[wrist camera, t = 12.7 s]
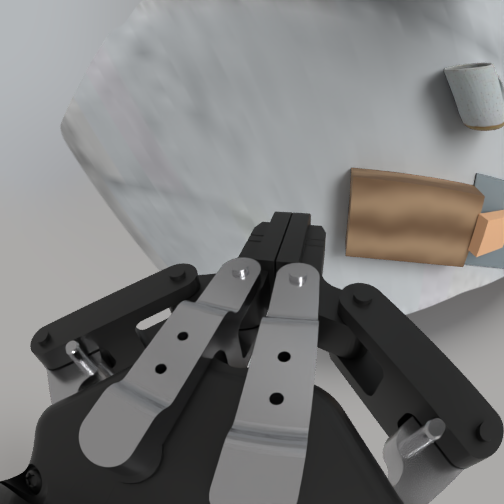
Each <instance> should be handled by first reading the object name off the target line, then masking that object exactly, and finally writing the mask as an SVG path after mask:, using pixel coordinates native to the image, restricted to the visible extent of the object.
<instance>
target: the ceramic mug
mask: <svg viewBox="0 0 504 504" xmlns="http://www.w3.org/2000/svg"><path fill="white" fill-rule="evenodd" d="M444 73H445V75H446V78H447V80H448V83H449V85H450V88H451V91H452V93H453V96H454V99H455V102H456V105H457V108H458V111H459V114H460V117H461V119H462V121H463V123H464V124H465V125H466V126H467V127H469V128H470V129H474V130H480V131H489V130H496V129H499V128H501V127H503V126H504V87H503V84H502V81H501V79H500V77H499V76H498V74H497V73H496V70H495V67H494V65H493V64H492V63H472V64H463V65H456V66H451V67H448V68H445V69H444Z"/></svg>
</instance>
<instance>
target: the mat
mask: <svg viewBox="0 0 504 504" xmlns="http://www.w3.org/2000/svg"><path fill="white" fill-rule="evenodd" d="M474 186H475V187H476V188H477V189H478V190H479V191H480V192H481V193H482V194H483V195H484V196H485V198H484V203H483V207H482V210H481V213H487V212H493V211H499V210H504V180H501V179H497V178H494V177H490V176H486V175H482V174H478V173H476V178H475V183H474ZM465 265H475V266H485V267H495V268H504V245H503V247H502V248H500V249H497V250H495V251H492V252H489V253H487V254H484V255H481V256H478V257H475V256H474V255H473V254H472V253H471V252H470V251H469V253H468V255H467V258H466V261H465Z"/></svg>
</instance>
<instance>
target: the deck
mask: <svg viewBox="0 0 504 504" xmlns="http://www.w3.org/2000/svg"><path fill="white" fill-rule="evenodd" d="M484 198H485V196H484V195H483V194H482V193H481V192H480V191H479V190H478V189H477V188H476V187H475V186H474V185H469V184H464V183H459V182H454V181H449V180H443V179H437V178H432V177H425V176H419V175H412V174H405V173H397V172H389V171H380V170H370V169H360V168H351V183H350V199H349V212H348V223H347V233H346V256H351V257H362V258H373V259H384V260H395V261H405V262H416V263H427V264H437V265H447V266H458V267H463V266H464V264H465V261H466V258H467V255H468V253H469V250H468V248H469V245H470V242H471V239H472V236H473V233H474V230H475V226H476V223H477V219H478V216H479V214H481V210H482V207H483V203H484Z"/></svg>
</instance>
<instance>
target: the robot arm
mask: <svg viewBox="0 0 504 504" xmlns="http://www.w3.org/2000/svg"><path fill="white" fill-rule="evenodd" d="M325 238H326V232H325V231H324V229H323V228H322V226H315V225H311V215H310V214H307V213H291V212H275V213H274V215H273V217H272V219H271V221H270V222H262V223H260V224H259V225H258V226H256V227H255V228H254V230H253V231H252V233H251V236H250V237H249V239H248V241H247V242H246V244H245V246H244V248H243V249H242V251H241V253H240V255H239V257H238V258H235V259H232V260H229V261H227V262H226V263H225V264H223V265H222V267H221V268H220V269H219V271H218V272H217V273H216V274H208V275H198V273H197V270H196V268H195V267H194V266H192V265H190V264H176V265H173V266H171V267H168V268H166V269H164V270H162V271H160V272H158V273H155V274H153V275H151V276H149V277H147V278H144V279H142V280H140V281H138V282H136V283H134V284H132V285H129V286H127V287H125V288H123V289H121V290H119V291H117V292H114V293H112V294H110V295H108V296H106V297H104V298H102V299H100V300H98V301H96V302H93V303H91V304H89V305H88V306H85V307H83V308H81V309H79V310H77V311H75V312H73V313H71V314H69V315H67V316H65V317H63V318H60V319H58V320H57V321H54V322H52V323H50V324H48V325H46V326H44V327H42V328H41V329H40V330H39V331H37V333H36V334H35V335H34V337H33V338H32V341H31V351H32V352H33V353H34V354H35V355H36V357H37V358H38V359H39V360H40V361H41V362H42V363H43V365H44V367H45V368H46V369H47V374H48V382H49V390H50V397H51V402H52V405H51V406H50V407H48V408H47V409H46V410H45V411H44V412H43V414H42V415H41V417H40V418H39V420H38V423H37V426H36V431H35V440H34V447H33V452H32V456H31V460H30V464H29V465H28V467H27V469H26V470H25V471H24V472H23V473H21V474H20V475H18V476H15V477H13V478H10V479H8V480H4V481H0V504H428V503H429V502H430V501H432V500H433V499H434V498H435V497H436V496H437V495H438V494H439V493H440V492H442V491H443V490H444V489H445V488H446V487H447V486H448V485H449V484H450V483H451V482H452V481H453V480H454V479H455V478H456V477H457V476H458V475H459V474H460V473H461V472H462V471H463V470H464V469H466V468H468V467H470V466H472V465H474V464H476V463H478V462H480V461H482V460H484V459H486V458H488V457H489V456H491V455H492V454H494V453H495V452H496V451H497V449H498V448H499V446H500V444H501V442H502V438H503V423H502V420H501V418H500V416H499V415H498V414H497V412H496V411H495V410H494V409H493V408H492V407H491V405H490V404H489V403H488V402H487V401H486V399H484V397H483V396H482V395H481V394H480V393H479V391H478V390H477V389H476V388H475V387H474V386H473V385H472V384H471V382H470V381H469V380H468V379H467V378H466V377H465V376H464V375H463V374H462V373H461V372H460V370H459V369H458V368H457V367H456V366H455V365H454V364H453V363H452V362H451V361H450V360H449V359H448V358H447V357H446V355H445V354H444V353H442V351H441V350H440V349H439V348H438V347H437V346H436V345H435V344H434V343H433V342H432V341H431V340H430V339H429V338H428V337H427V336H426V335H425V334H424V333H423V332H422V331H421V330H420V329H419V328H418V327H417V326H416V325H415V324H414V323H413V322H412V321H411V320H410V319H409V318H408V317H406V315H405V314H404V313H402V312H401V311H400V310H399V309H398V308H397V307H396V306H395V305H394V304H393V303H392V302H391V301H390V300H389V299H388V298H387V297H386V296H384V295H383V294H382V293H381V292H380V291H379V290H378V289H377V288H375V287H373V286H371V285H368V284H364V283H355V284H351V285H348V286H346V287H345V288H344V289H343V290H341V289H338V288H336V287H333V286H331V285H330V284H328V283H327V282H326V281H325V280H324V279H323V277H322V273H323V265H324V253H325ZM167 308H170V311H171V313H172V314H171V316H170V317H169V318H168V319H166V320H163V321H162V322H159V323H157V324H155V325H153V326H151V327H150V328H147V329H145V330H139V329H137V328H136V325H137V324H138V323H139V322H140V321H142V320H144V319H146V318H149V317H151V316H153V315H155V314H156V313H159V312H161V311H163V310H165V309H167ZM267 312H268V314H267ZM266 315H267V316H266ZM317 347H318V348H321V349H323V350H326V351H328V352H329V355H330V357H331V360H332V361H333V362H334V363H335V365H336V366H337V368H338V369H339V370H340V372H341V373H342V375H343V376H344V377H345V378H346V380H347V381H348V383H349V384H350V385H351V387H352V388H353V389H354V391H355V392H356V393H357V395H358V396H359V397H360V399H361V400H362V401H363V403H364V404H365V405H366V407H367V408H368V409H369V411H370V412H371V414H372V415H373V416H374V418H375V419H376V420H377V421H378V423H379V424H380V426H381V427H382V428H383V430H384V431H385V432H386V434H387V435H388V436H389V438H388V439H387V441H386V442H385V445H384V448H383V458H384V461H385V463H386V465H387V468H388V478H387V477H386V475H385V474H384V472H383V471H382V469H381V468H380V466H379V464H378V463H377V461H376V460H375V458H374V457H373V455H372V453H371V452H370V450H369V449H368V447H367V446H366V444H365V443H364V441H363V440H362V438H361V437H360V435H359V433H358V432H357V430H356V429H355V427H354V425H353V424H352V422H351V421H350V419H349V418H348V416H347V414H346V413H345V411H344V410H343V408H342V407H341V405H340V404H339V403H338V402H337V401H336V400H335V398H333V397H332V396H331V395H330V394H329V393H327V392H326V391H324V390H323V389H322V388H320V387H318V386H316V385H314V379H315V368H316V356H317ZM251 356H252V358H251ZM250 359H251V362H250V365H249V368H247V366H248V363H249V361H250Z"/></svg>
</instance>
